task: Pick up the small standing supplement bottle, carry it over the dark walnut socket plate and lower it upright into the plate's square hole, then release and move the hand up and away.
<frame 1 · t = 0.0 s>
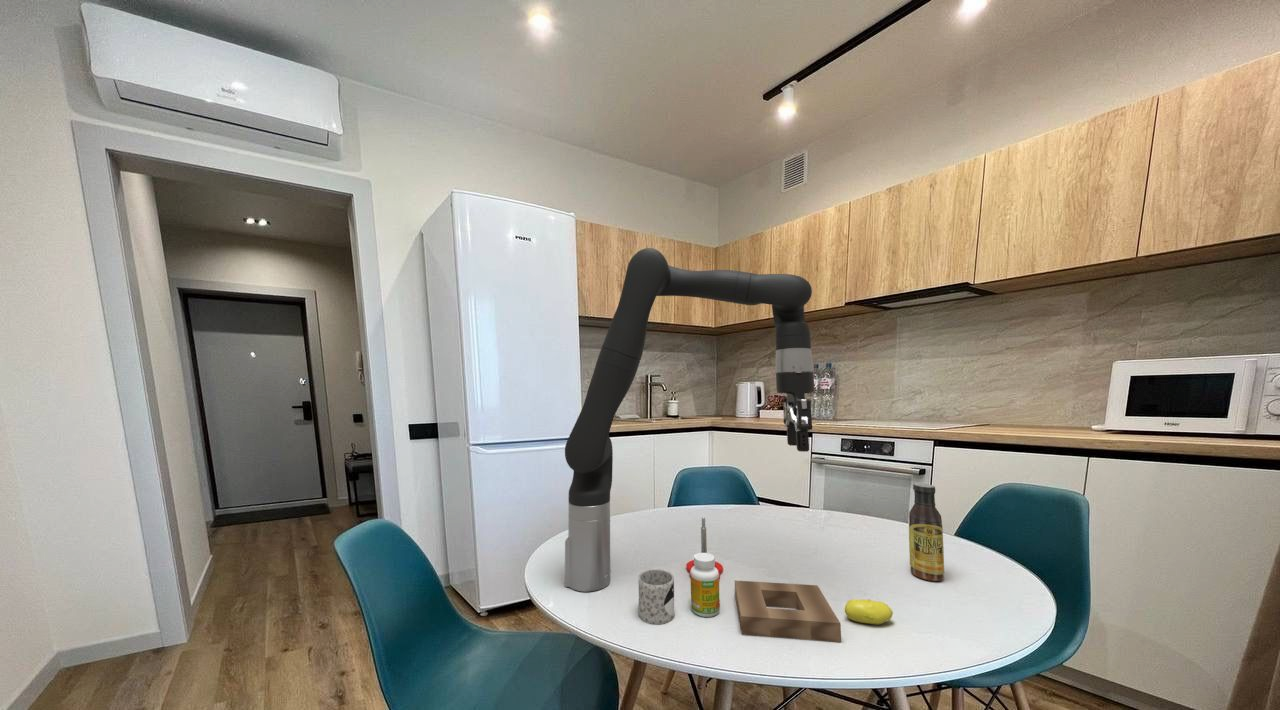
hand: (797, 448, 83), 29 cm above the table, tool pointing down, fingers open, 8 cm apart
sauce bottle: (928, 577, 88), on the table
supplement bottle: (705, 611, 75), on the table
socket plate: (782, 616, 73), on the table
tow hook: (704, 571, 92), on the table
yellow potato: (869, 623, 71), on the table
mug: (657, 610, 76), on the table
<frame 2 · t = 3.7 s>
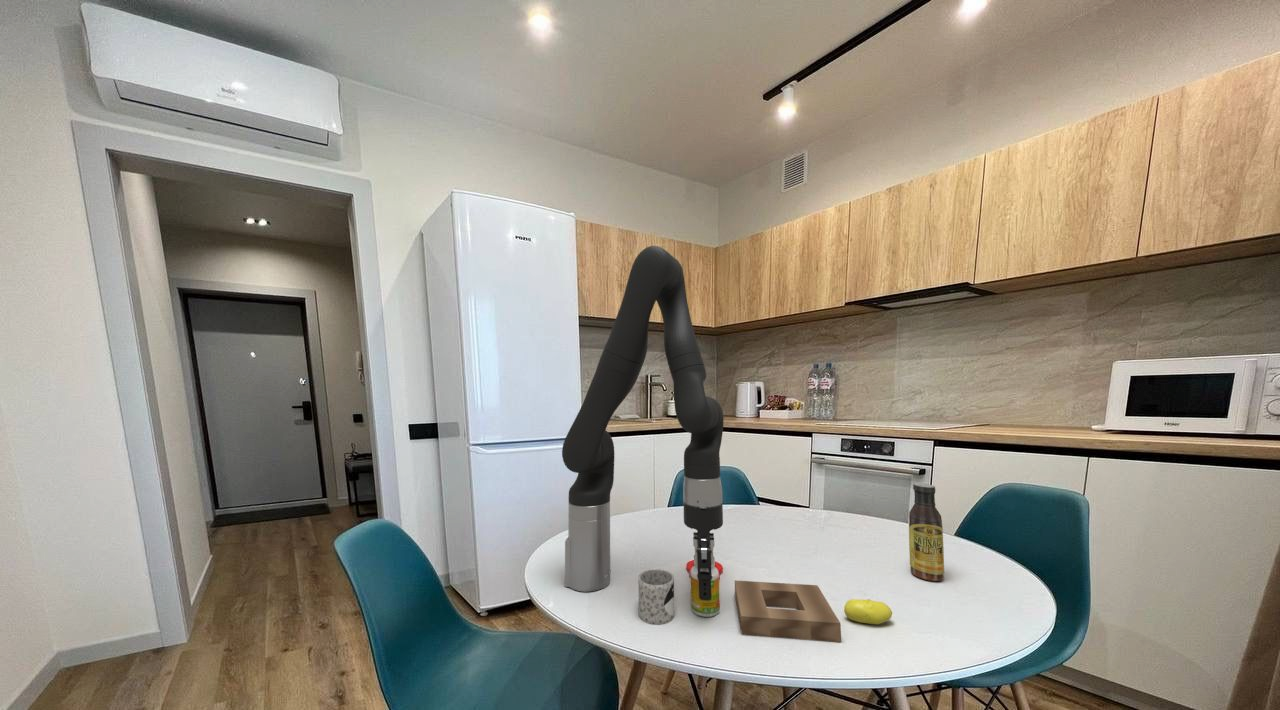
hand: (704, 590, 76), 3 cm above the table, tool pointing down, fingers closed on supplement bottle, 5 cm apart
supplement bottle: (705, 611, 75), on the table, touching gripper
everything else where it was.
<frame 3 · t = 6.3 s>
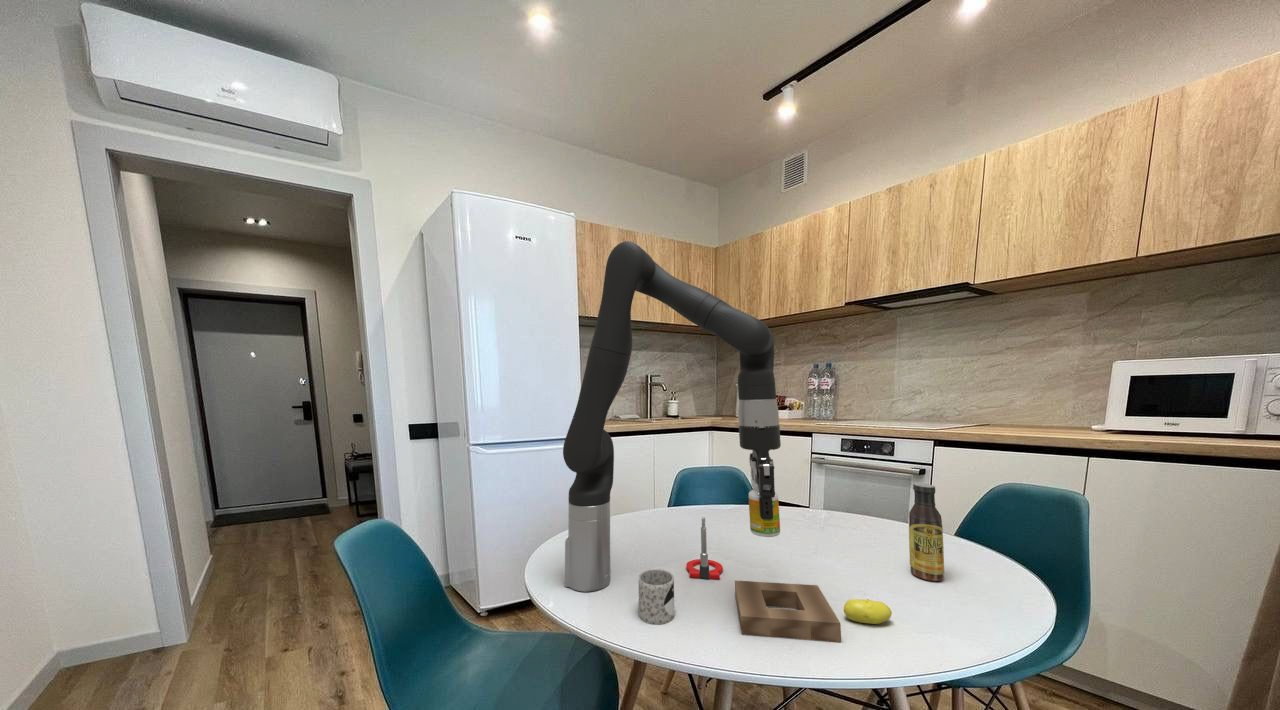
hand: (764, 513, 75), 18 cm above the table, tool pointing down, fingers closed on supplement bottle, 5 cm apart
supplement bottle: (765, 533, 74), point 15 cm above the table, touching gripper
everything else where it was.
when the fingers open (5 cm above the table, at t = 8.9 s): supplement bottle drops 1 cm, resting in socket plate.
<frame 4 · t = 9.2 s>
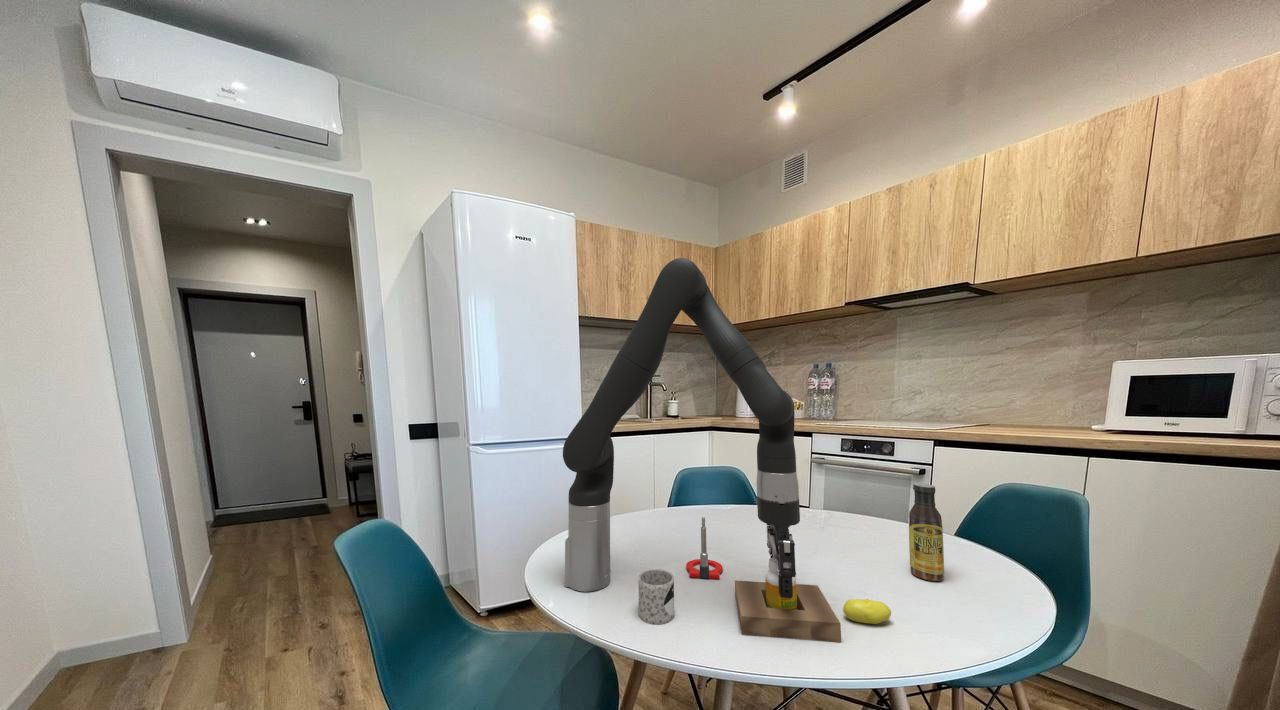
hand: (781, 585, 73), 5 cm above the table, tool pointing down, fingers open, 7 cm apart
supplement bottle: (782, 617, 73), resting in socket plate
everything else where it was.
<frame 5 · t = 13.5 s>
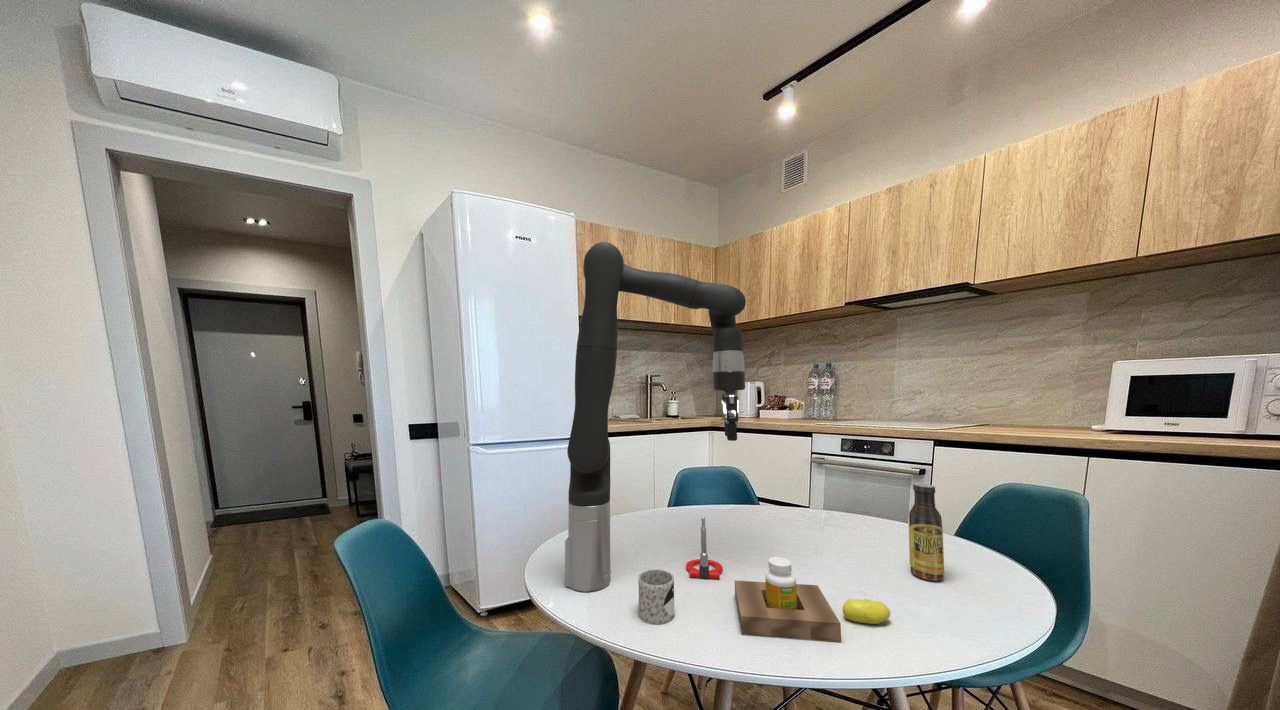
hand: (730, 438, 95), 30 cm above the table, tool pointing down, fingers open, 8 cm apart
nothing on the table moved.
at the end: supplement bottle 0.1 cm off-centre on the socket plate, point 0.0 cm above the socket plate's base; supplement bottle tilted 0°; the gripper is holding nothing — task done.
